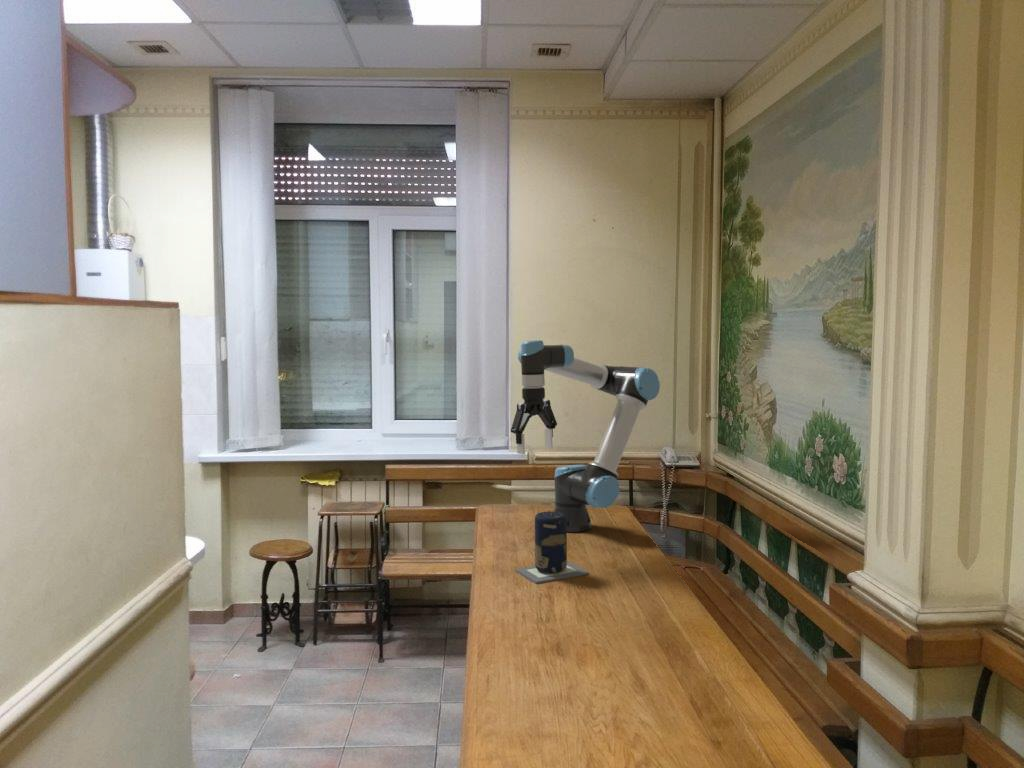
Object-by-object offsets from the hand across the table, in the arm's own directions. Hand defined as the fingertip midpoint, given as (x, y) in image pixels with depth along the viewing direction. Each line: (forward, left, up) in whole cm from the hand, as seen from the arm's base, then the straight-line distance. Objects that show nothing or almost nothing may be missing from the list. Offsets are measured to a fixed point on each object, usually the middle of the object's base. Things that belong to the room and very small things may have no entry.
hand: (535, 450), depth 241 cm
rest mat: (+8, +25, -33) cm, 42 cm away
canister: (+8, +25, -32) cm, 41 cm away
